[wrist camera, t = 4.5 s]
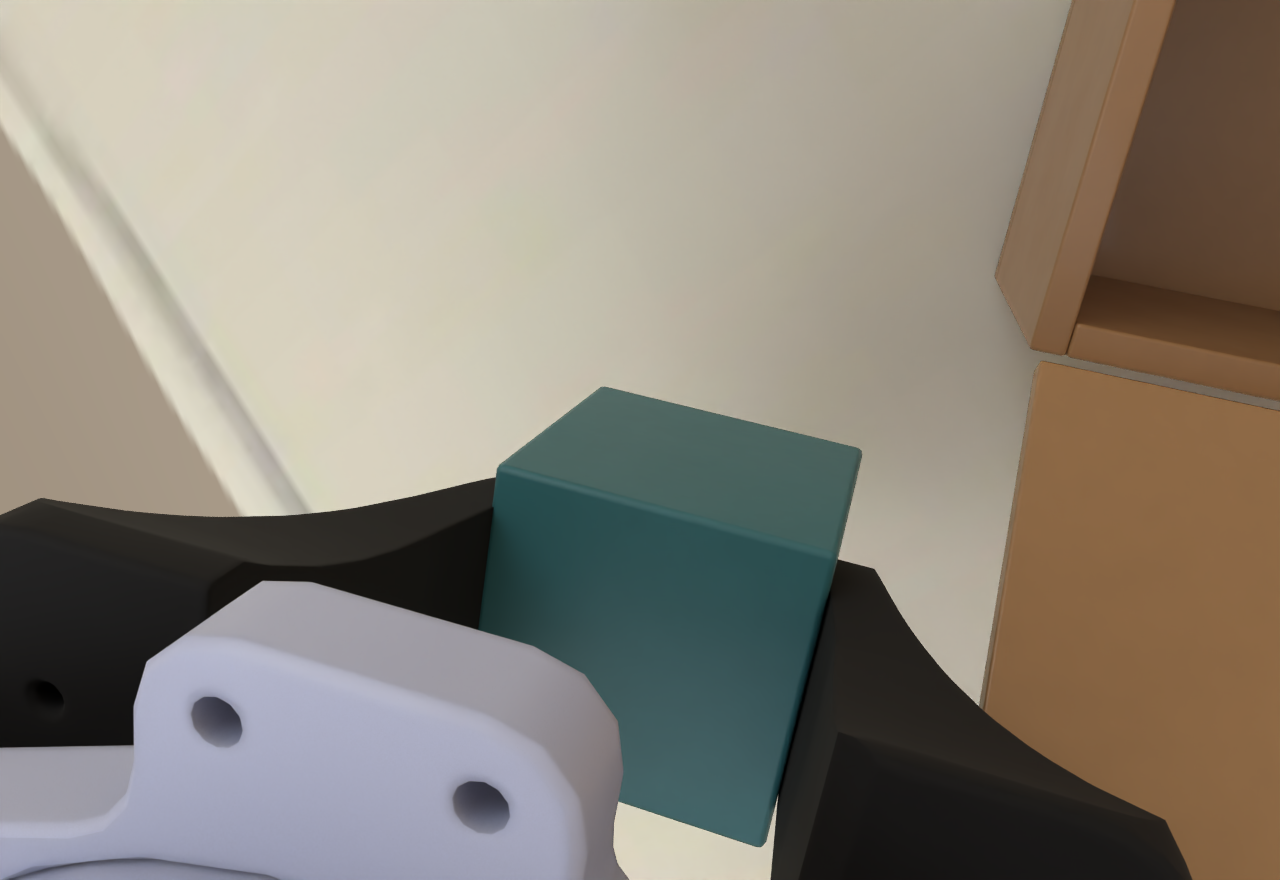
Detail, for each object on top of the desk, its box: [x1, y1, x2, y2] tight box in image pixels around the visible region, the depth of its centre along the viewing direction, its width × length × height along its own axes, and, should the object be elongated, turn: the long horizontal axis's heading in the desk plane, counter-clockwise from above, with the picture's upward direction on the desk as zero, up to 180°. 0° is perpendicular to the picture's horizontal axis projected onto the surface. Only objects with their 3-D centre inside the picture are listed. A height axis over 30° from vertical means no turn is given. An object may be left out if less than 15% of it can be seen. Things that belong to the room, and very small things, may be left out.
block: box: [478, 387, 862, 847], centre depth 14 cm, size 4×4×4 cm
